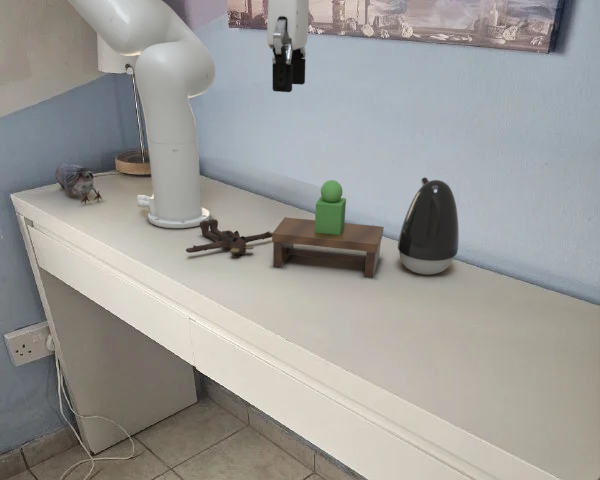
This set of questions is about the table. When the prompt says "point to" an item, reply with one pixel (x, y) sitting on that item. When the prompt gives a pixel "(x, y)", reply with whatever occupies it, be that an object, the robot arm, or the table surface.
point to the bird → (76, 180)
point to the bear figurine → (225, 239)
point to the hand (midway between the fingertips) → (289, 87)
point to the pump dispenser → (430, 229)
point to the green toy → (330, 209)
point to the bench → (327, 242)
